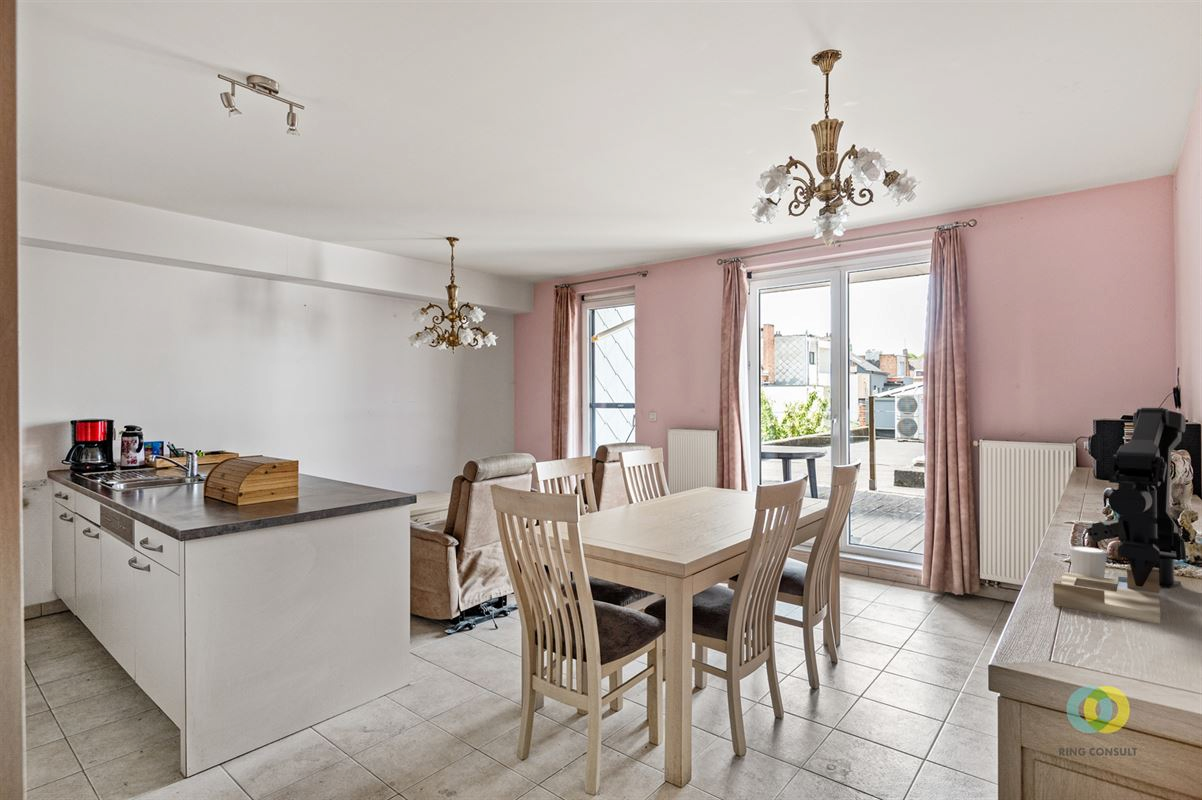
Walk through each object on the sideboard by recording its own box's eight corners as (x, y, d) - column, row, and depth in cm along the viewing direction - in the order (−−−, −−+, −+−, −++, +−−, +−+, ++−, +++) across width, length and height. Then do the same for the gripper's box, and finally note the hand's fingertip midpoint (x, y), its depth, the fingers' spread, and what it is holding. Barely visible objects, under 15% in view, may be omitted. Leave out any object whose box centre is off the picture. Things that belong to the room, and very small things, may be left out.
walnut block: (1127, 582, 132) (1127, 564, 132) (1159, 587, 129) (1158, 568, 129) (1127, 588, 129) (1127, 569, 129) (1159, 592, 125) (1159, 573, 125)
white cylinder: (1114, 584, 137) (1114, 553, 137) (1079, 582, 138) (1079, 552, 138) (1096, 575, 144) (1096, 546, 144) (1063, 574, 145) (1063, 545, 145)
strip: (1118, 588, 134) (1118, 575, 134) (1158, 594, 130) (1158, 581, 130) (1117, 596, 128) (1117, 583, 129) (1159, 603, 124) (1158, 589, 124)
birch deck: (1064, 580, 140) (1064, 561, 140) (1158, 594, 129) (1158, 573, 129) (1053, 605, 124) (1053, 583, 124) (1160, 623, 113) (1159, 599, 113)
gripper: (1091, 501, 138) (1092, 569, 138) (1085, 512, 124) (1086, 588, 124) (1157, 506, 131) (1158, 578, 131) (1159, 519, 117) (1160, 600, 117)
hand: (1139, 585), depth 126 cm, fingers closed
